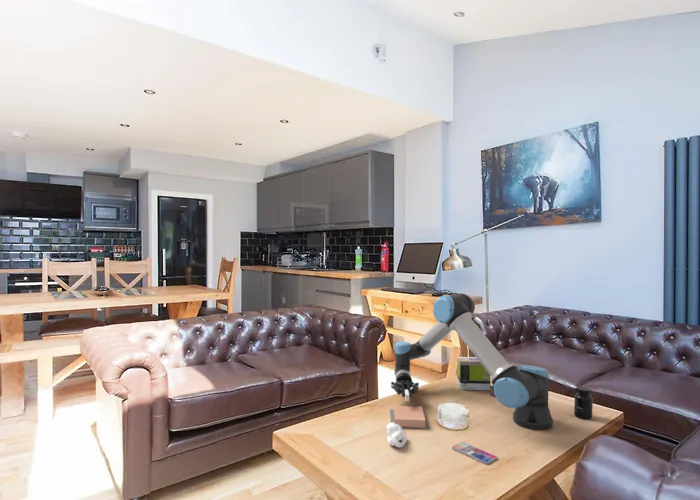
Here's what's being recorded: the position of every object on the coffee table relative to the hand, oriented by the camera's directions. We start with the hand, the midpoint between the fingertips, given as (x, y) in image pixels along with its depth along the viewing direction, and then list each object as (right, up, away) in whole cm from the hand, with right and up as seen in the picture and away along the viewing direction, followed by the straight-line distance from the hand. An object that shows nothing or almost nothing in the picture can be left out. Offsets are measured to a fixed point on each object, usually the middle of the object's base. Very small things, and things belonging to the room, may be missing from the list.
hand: (407, 398), depth 179 cm
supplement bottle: (+76, -9, +2) cm, 76 cm away
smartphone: (+19, -9, -30) cm, 37 cm away
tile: (0, -6, +2) cm, 7 cm away
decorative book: (+53, -9, +27) cm, 60 cm away
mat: (0, -8, -2) cm, 9 cm away
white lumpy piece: (-7, -9, -22) cm, 25 cm away
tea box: (+39, -8, +38) cm, 55 cm away
